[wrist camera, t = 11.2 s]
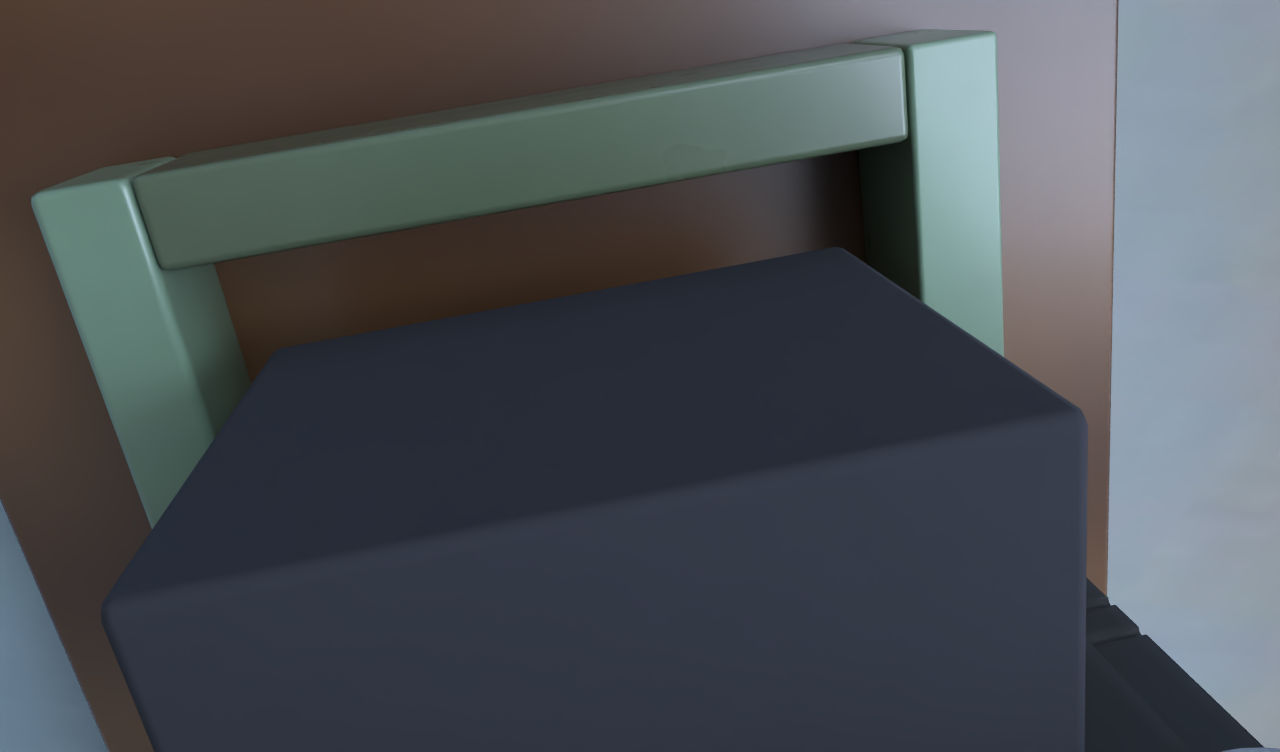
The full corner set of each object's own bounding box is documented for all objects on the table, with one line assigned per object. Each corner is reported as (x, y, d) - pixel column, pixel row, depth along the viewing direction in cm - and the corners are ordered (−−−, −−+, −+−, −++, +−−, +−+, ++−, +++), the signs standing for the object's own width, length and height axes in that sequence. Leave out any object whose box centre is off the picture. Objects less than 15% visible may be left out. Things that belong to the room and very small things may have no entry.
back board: (-205, -144, 9) (-455, -201, 7) (1067, -327, 10) (1246, -434, 7) (286, 1067, 15) (246, 1268, 12) (1065, 885, 15) (1165, 1040, 13)
